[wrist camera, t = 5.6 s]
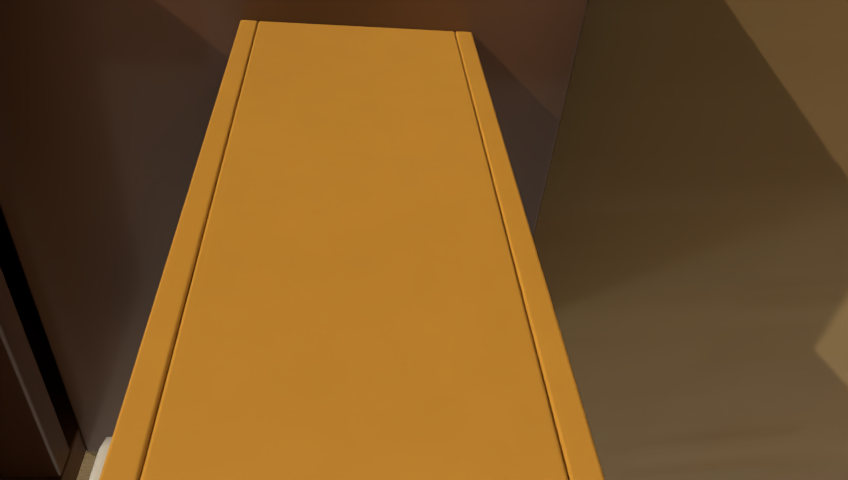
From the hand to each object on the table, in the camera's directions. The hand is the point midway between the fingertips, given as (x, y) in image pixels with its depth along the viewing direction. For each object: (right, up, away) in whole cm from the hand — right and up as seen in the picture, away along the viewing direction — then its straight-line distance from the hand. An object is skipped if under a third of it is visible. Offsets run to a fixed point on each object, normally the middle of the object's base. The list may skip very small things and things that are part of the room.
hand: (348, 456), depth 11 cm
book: (0, +4, +4) cm, 6 cm away
